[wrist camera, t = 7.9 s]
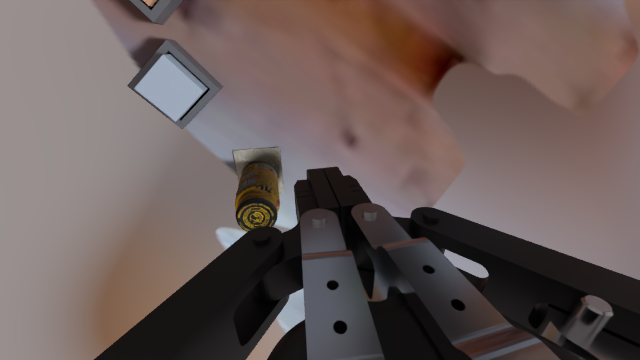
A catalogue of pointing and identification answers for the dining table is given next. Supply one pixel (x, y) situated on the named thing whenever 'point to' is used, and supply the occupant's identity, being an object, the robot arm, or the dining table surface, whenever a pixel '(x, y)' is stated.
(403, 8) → the dining table surface
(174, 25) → the dining table surface
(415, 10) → the dining table surface
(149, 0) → the terracotta button
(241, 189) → the condiment
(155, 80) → the dusty blue button
